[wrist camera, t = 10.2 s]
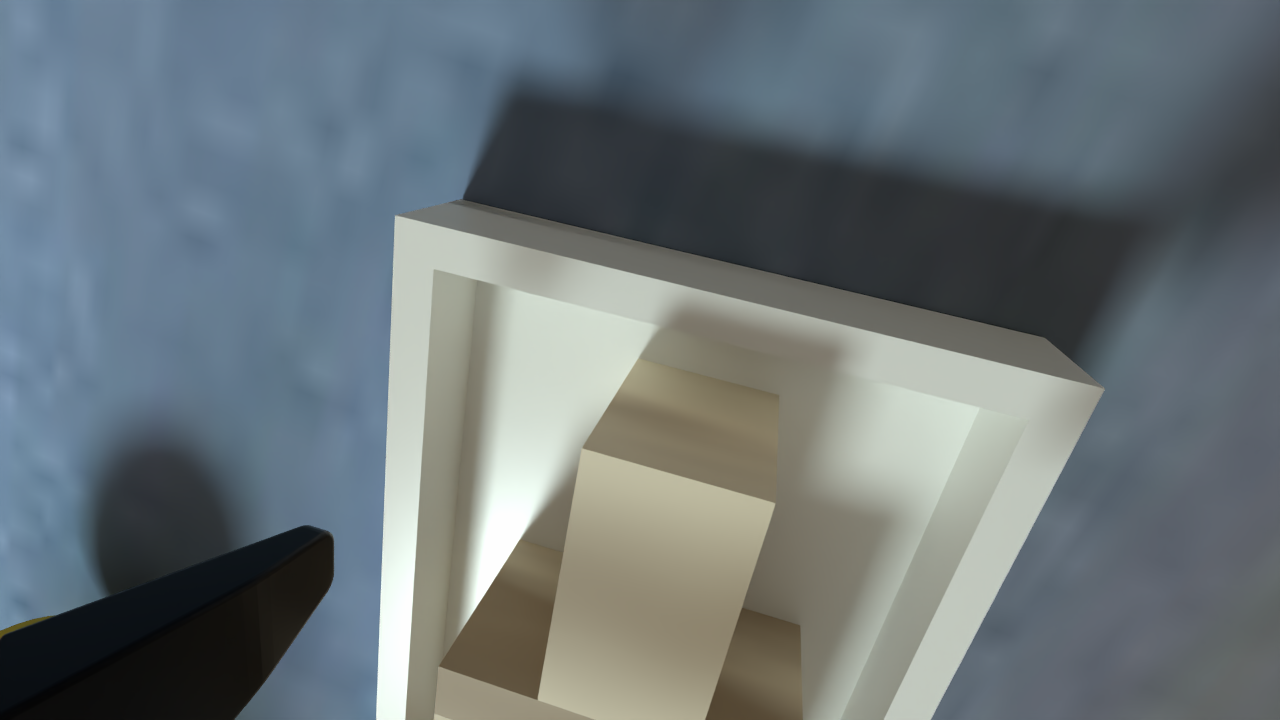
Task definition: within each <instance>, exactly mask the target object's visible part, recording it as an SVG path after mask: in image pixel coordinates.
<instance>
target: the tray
mask: <svg viewBox="0 0 1280 720" xmlns="http://www.w3.org/2000/svg"><path fill="white" fill-rule="evenodd" d="M638 358H639V359H643V360H647V361H650V362H654V363H658V364H662V365H666V366H670V367H673V368H677V369H681V370H685V371H689V372H693V373H696V374H700V375H704V376H708V377H712V378H716V379H719V380H723V381H727V382H731V383H735V384H739V385H742V386H746V387H750V388H754V389H758V390H761V391H765V392H769V393H773V394H777V395H779V419H778V451H777V484H776V505H775V508H774V511H773V514H772V517H771V520H770V523H769V526H768V529H767V532H766V535H765V538H764V541H763V544H762V547H761V550H760V553H759V557H758V560H757V563H756V566H755V569H754V572H753V575H752V578H751V581H750V584H749V587H748V590H747V593H746V596H745V599H744V602H743V605H742V608H745V609H748V610H752V611H755V612H758V613H762V614H765V615H768V616H771V617H775V618H778V619H781V620H784V621H788V622H791V623H794V624H797V625H800V629H801V669H802V709H803V720H931V718H932V716H933V714H934V712H935V710H936V708H937V707H938V705H939V703H940V701H941V699H942V697H943V695H944V693H945V691H946V689H947V688H948V686H949V684H950V682H951V680H952V678H953V676H954V674H955V672H956V670H957V669H958V667H959V665H960V663H961V661H962V659H963V657H964V655H965V653H966V652H967V650H968V648H969V646H970V644H971V642H972V640H973V638H974V636H975V634H976V633H977V631H978V629H979V627H980V625H981V623H982V621H983V619H984V617H985V615H986V614H987V612H988V610H989V608H990V606H991V604H992V602H993V600H994V598H995V596H996V595H997V593H998V591H999V589H1000V587H1001V585H1002V583H1003V581H1004V579H1005V578H1006V576H1007V574H1008V572H1009V570H1010V568H1011V566H1012V564H1013V562H1014V560H1015V559H1016V557H1017V555H1018V553H1019V551H1020V549H1021V547H1022V545H1023V543H1024V541H1025V540H1026V538H1027V536H1028V534H1029V532H1030V530H1031V528H1032V526H1033V524H1034V522H1035V521H1036V519H1037V517H1038V515H1039V513H1040V511H1041V509H1042V507H1043V505H1044V504H1045V502H1046V500H1047V498H1048V496H1049V494H1050V492H1051V490H1052V488H1053V486H1054V485H1055V483H1056V481H1057V479H1058V477H1059V475H1060V473H1061V471H1062V469H1063V467H1064V466H1065V464H1066V462H1067V460H1068V458H1069V456H1070V454H1071V452H1072V450H1073V448H1074V447H1075V445H1076V443H1077V441H1078V439H1079V437H1080V435H1081V433H1082V431H1083V430H1084V428H1085V426H1086V424H1087V422H1088V420H1089V418H1090V416H1091V414H1092V412H1093V411H1094V409H1095V407H1096V405H1097V403H1098V401H1099V399H1100V397H1101V395H1102V393H1103V392H1104V390H1105V388H1104V387H1102V386H1101V385H1100V384H1099V383H1098V382H1096V381H1095V380H1094V379H1093V378H1092V377H1091V376H1089V375H1088V374H1087V373H1086V372H1085V371H1083V370H1082V369H1081V368H1080V367H1079V366H1078V365H1076V364H1075V363H1074V362H1073V361H1072V360H1070V359H1069V358H1068V357H1067V356H1066V355H1065V354H1063V353H1062V352H1061V351H1060V350H1059V349H1057V348H1056V347H1055V346H1054V345H1053V344H1052V343H1050V342H1049V341H1048V340H1047V339H1046V338H1044V337H1039V336H1035V335H1031V334H1027V333H1023V332H1018V331H1014V330H1010V329H1006V328H1001V327H997V326H993V325H989V324H985V323H980V322H976V321H972V320H968V319H964V318H959V317H955V316H951V315H947V314H942V313H938V312H934V311H930V310H926V309H921V308H917V307H913V306H909V305H905V304H900V303H896V302H892V301H888V300H883V299H879V298H875V297H871V296H867V295H862V294H858V293H854V292H850V291H846V290H841V289H837V288H833V287H829V286H824V285H820V284H816V283H812V282H808V281H803V280H799V279H795V278H791V277H786V276H782V275H778V274H774V273H770V272H765V271H761V270H757V269H753V268H749V267H744V266H740V265H736V264H732V263H727V262H723V261H719V260H715V259H711V258H706V257H702V256H698V255H694V254H690V253H685V252H681V251H677V250H673V249H668V248H664V247H660V246H656V245H652V244H647V243H643V242H639V241H635V240H631V239H626V238H622V237H618V236H614V235H609V234H605V233H601V232H597V231H593V230H588V229H584V228H580V227H576V226H571V225H567V224H563V223H559V222H555V221H550V220H546V219H542V218H538V217H534V216H529V215H525V214H521V213H517V212H512V211H508V210H504V209H500V208H496V207H491V206H487V205H483V204H479V203H475V202H470V201H466V200H462V199H460V200H456V201H452V202H448V203H444V204H440V205H436V206H432V207H428V208H423V209H419V210H415V211H411V212H407V213H403V214H399V215H395V233H394V260H393V286H392V313H391V340H390V366H389V393H388V420H387V446H386V473H385V500H384V526H383V553H382V579H381V606H380V633H379V659H378V686H377V713H376V720H434V712H435V701H436V690H437V678H438V667H439V665H440V663H441V662H442V660H443V659H444V657H445V656H446V654H447V652H448V651H449V649H450V648H451V646H452V645H453V643H454V641H455V640H456V638H457V637H458V635H459V634H460V632H461V630H462V629H463V627H464V626H465V624H466V623H467V621H468V620H469V618H470V616H471V615H472V613H473V612H474V610H475V609H476V607H477V605H478V604H479V602H480V601H481V599H482V598H483V596H484V595H485V593H486V591H487V590H488V588H489V587H490V585H491V584H492V582H493V580H494V579H495V577H496V576H497V574H498V573H499V571H500V569H501V568H502V566H503V565H504V563H505V562H506V560H507V559H508V557H509V555H510V554H511V552H512V551H513V549H514V548H515V546H516V544H517V543H518V541H519V540H524V541H527V542H530V543H533V544H537V545H540V546H543V547H546V548H550V549H553V550H556V551H560V552H564V546H565V540H566V535H567V529H568V523H569V518H570V512H571V506H572V501H573V495H574V489H575V484H576V478H577V472H578V467H579V461H580V455H581V450H582V447H583V445H584V444H585V442H586V441H587V439H588V437H589V436H590V434H591V433H592V431H593V429H594V428H595V426H596V425H597V423H598V422H599V420H600V418H601V417H602V415H603V414H604V412H605V410H606V409H607V407H608V406H609V404H610V402H611V401H612V399H613V398H614V396H615V394H616V393H617V391H618V390H619V388H620V386H621V385H622V383H623V382H624V380H625V378H626V377H627V375H628V374H629V372H630V371H631V369H632V367H633V366H634V364H635V363H636V361H637V359H638Z"/></svg>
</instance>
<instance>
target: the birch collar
mask: <svg viewBox="0 0 1280 720" xmlns="http://www.w3.org/2000/svg"><path fill="white" fill-rule="evenodd" d="M778 419H779V395H777V394H773V393H769V392H765V391H761V390H758V389H754V388H750V387H746V386H742V385H739V384H735V383H731V382H727V381H723V380H719V379H716V378H712V377H708V376H704V375H700V374H696V373H693V372H689V371H685V370H681V369H677V368H673V367H670V366H666V365H662V364H658V363H654V362H650V361H647V360H643V359H639V358H638V359H637V361H636V363H635V364H634V366H633V367H632V369H631V371H630V372H629V374H628V375H627V377H626V378H625V380H624V382H623V383H622V385H621V386H620V388H619V390H618V391H617V393H616V394H615V396H614V398H613V399H612V401H611V402H610V404H609V406H608V407H607V409H606V410H605V412H604V414H603V415H602V417H601V418H600V420H599V422H598V423H597V425H596V426H595V428H594V429H593V431H592V433H591V434H590V436H589V437H588V439H587V441H586V442H585V444H584V445H583V447H582V450H581V455H580V461H579V467H578V472H577V478H576V484H575V489H574V495H573V501H572V506H571V512H570V518H569V523H568V529H567V535H566V540H565V546H564V552H560V551H556V550H553V549H550V548H546V547H543V546H540V545H537V544H533V543H530V542H527V541H524V540H519V541H518V543H517V544H516V546H515V548H514V549H513V551H512V552H511V554H510V555H509V557H508V559H507V560H506V562H505V563H504V565H503V566H502V568H501V569H500V571H499V573H498V574H497V576H496V577H495V579H494V580H493V582H492V584H491V585H490V587H489V588H488V590H487V591H486V593H485V595H484V596H483V598H482V599H481V601H480V602H479V604H478V605H477V607H476V609H475V610H474V612H473V613H472V615H471V616H470V618H469V620H468V621H467V623H466V624H465V626H464V627H463V629H462V630H461V632H460V634H459V635H458V637H457V638H456V640H455V641H454V643H453V645H452V646H451V648H450V649H449V651H448V652H447V654H446V656H445V657H444V659H443V660H442V662H441V663H440V665H439V667H438V678H437V690H436V701H435V712H434V720H803V709H802V669H801V629H800V625H797V624H794V623H791V622H788V621H784V620H781V619H778V618H775V617H771V616H768V615H765V614H762V613H758V612H755V611H752V610H748V609H745V608H742V605H743V602H744V599H745V596H746V593H747V590H748V587H749V584H750V581H751V578H752V575H753V572H754V569H755V566H756V563H757V560H758V557H759V553H760V550H761V547H762V544H763V541H764V538H765V535H766V532H767V529H768V526H769V523H770V520H771V517H772V514H773V511H774V508H775V505H776V484H777V451H778Z"/></svg>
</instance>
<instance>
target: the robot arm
mask: <svg viewBox="0 0 1280 720" xmlns="http://www.w3.org/2000/svg"><path fill="white" fill-rule="evenodd" d="M333 577H334V538H333V536H332V534H331V533H330V532H329V531H326V530H323V529H319V528H316V527H313V526H309V525H305V526H300V527H297V528H295V529H292V530H289V531H286V532H284V533H281V534H278V535H275V536H273V537H270V538H267V539H264V540H262V541H259V542H256V543H253V544H251V545H248V546H245V547H243V548H240V549H237V550H234V551H232V552H229V553H226V554H223V555H221V556H218V557H215V558H212V559H210V560H207V561H204V562H201V563H199V564H196V565H193V566H190V567H188V568H185V569H182V570H179V571H177V572H174V573H171V574H168V575H166V576H163V577H160V578H157V579H155V580H152V581H149V582H146V583H144V584H141V585H138V586H135V587H133V588H130V589H127V590H124V591H122V592H119V593H116V594H113V595H111V596H108V597H105V598H102V599H100V600H97V601H94V602H92V603H89V604H86V605H83V606H81V607H78V608H75V609H72V610H70V611H67V612H64V613H61V614H59V615H56V616H53V617H50V618H48V619H45V620H42V621H39V622H37V623H34V624H31V625H28V626H26V627H23V628H20V629H17V630H15V631H12V632H9V633H6V634H4V635H3V636H2V637H1V638H0V720H234V719H235V718H236V717H237V715H238V714H239V713H240V712H241V711H242V709H243V708H244V707H245V706H246V705H247V704H248V702H249V701H250V700H251V699H252V697H253V696H254V695H255V694H256V692H257V691H258V690H259V689H260V687H261V686H262V685H263V684H264V682H265V681H266V680H267V678H268V677H269V675H270V674H271V673H272V671H273V670H274V669H275V667H276V666H277V664H278V663H279V661H280V660H281V658H282V657H283V656H284V654H285V653H286V651H287V650H288V648H289V647H290V645H291V644H292V643H293V641H294V640H295V638H296V637H297V635H298V634H299V632H300V631H301V629H302V628H303V627H304V625H305V624H306V622H307V621H308V619H309V618H310V616H311V615H312V614H313V612H314V611H315V609H316V608H317V606H318V605H319V603H320V602H321V600H322V599H323V598H324V596H325V595H326V593H327V592H328V590H329V588H330V586H331V584H332V581H333Z"/></svg>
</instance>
